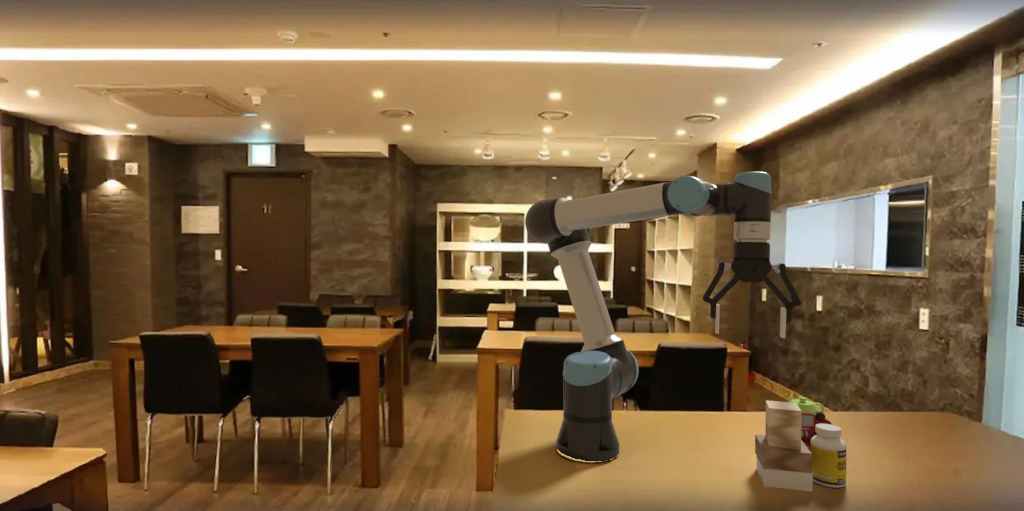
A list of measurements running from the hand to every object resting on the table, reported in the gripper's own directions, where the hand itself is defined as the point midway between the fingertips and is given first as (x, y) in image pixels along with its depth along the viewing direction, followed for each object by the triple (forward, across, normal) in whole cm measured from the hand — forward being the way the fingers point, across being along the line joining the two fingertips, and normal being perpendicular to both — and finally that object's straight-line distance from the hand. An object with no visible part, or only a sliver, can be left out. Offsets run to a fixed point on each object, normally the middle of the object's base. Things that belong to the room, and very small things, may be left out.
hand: (749, 335), depth 119 cm
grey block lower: (+30, +7, -6) cm, 31 cm away
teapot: (+30, +16, +32) cm, 46 cm away
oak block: (+22, +6, -6) cm, 23 cm away
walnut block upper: (+26, +6, -6) cm, 27 cm away
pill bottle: (+29, +15, -4) cm, 33 cm away
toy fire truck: (+30, +15, +10) cm, 35 cm away
